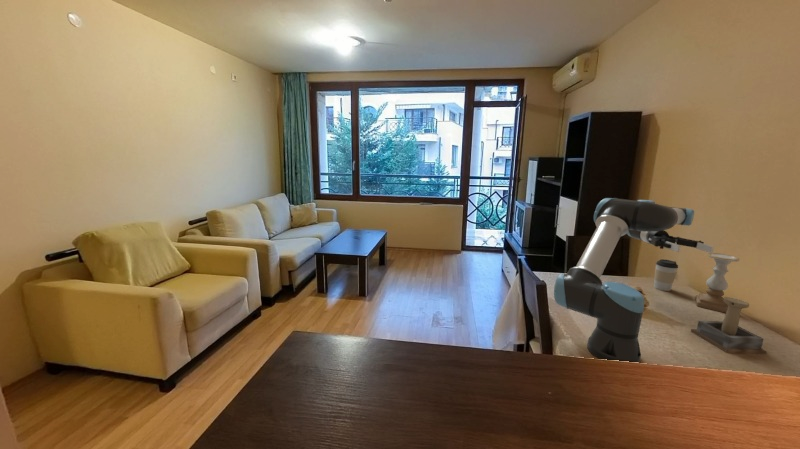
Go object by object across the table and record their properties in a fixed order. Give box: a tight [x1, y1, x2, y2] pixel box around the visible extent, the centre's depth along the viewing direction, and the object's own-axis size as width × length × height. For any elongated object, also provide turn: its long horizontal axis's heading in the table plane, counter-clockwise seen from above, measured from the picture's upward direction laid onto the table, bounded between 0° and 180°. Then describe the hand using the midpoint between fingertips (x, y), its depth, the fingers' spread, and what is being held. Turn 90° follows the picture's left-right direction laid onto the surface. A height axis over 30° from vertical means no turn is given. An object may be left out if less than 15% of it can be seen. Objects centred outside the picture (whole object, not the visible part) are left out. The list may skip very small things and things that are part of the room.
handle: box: [721, 296, 750, 336], centre depth 119 cm, size 5×6×15 cm
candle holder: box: [695, 252, 740, 314], centre depth 149 cm, size 11×11×24 cm
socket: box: [690, 320, 767, 354], centre depth 120 cm, size 14×14×5 cm
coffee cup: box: [653, 259, 679, 292], centre depth 169 cm, size 9×9×15 cm
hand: (695, 249), depth 132 cm, fingers open, 13 cm apart
